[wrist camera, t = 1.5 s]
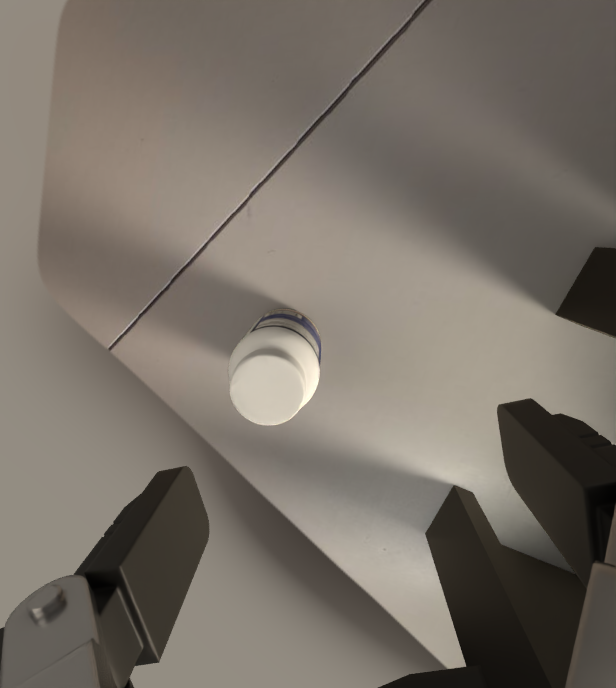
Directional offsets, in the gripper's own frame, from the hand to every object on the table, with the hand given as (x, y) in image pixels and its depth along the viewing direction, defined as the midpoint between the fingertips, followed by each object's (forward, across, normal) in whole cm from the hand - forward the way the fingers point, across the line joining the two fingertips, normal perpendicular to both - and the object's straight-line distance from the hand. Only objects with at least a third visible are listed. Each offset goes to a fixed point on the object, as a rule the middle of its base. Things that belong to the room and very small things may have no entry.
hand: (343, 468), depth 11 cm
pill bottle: (+21, +4, +1) cm, 21 cm away
